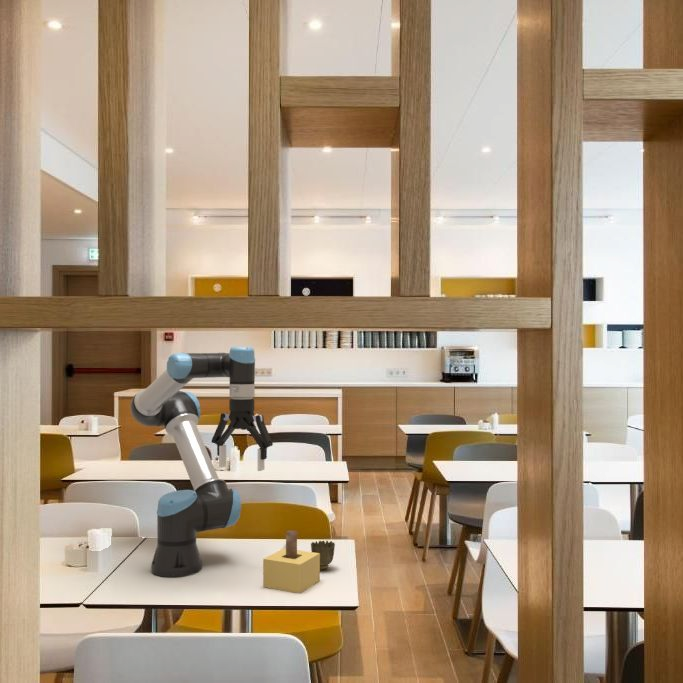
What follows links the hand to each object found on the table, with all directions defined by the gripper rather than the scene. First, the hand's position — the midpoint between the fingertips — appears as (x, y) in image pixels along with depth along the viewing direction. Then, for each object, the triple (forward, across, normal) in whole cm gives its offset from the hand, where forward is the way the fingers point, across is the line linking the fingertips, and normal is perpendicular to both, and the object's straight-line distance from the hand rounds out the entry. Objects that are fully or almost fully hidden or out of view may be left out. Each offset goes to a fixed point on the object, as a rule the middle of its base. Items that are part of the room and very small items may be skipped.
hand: (241, 468), depth 218 cm
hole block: (+32, +18, -1) cm, 36 cm away
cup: (+32, +20, +15) cm, 41 cm away
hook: (+32, +7, +14) cm, 36 cm away
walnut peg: (+31, +18, -1) cm, 36 cm away
